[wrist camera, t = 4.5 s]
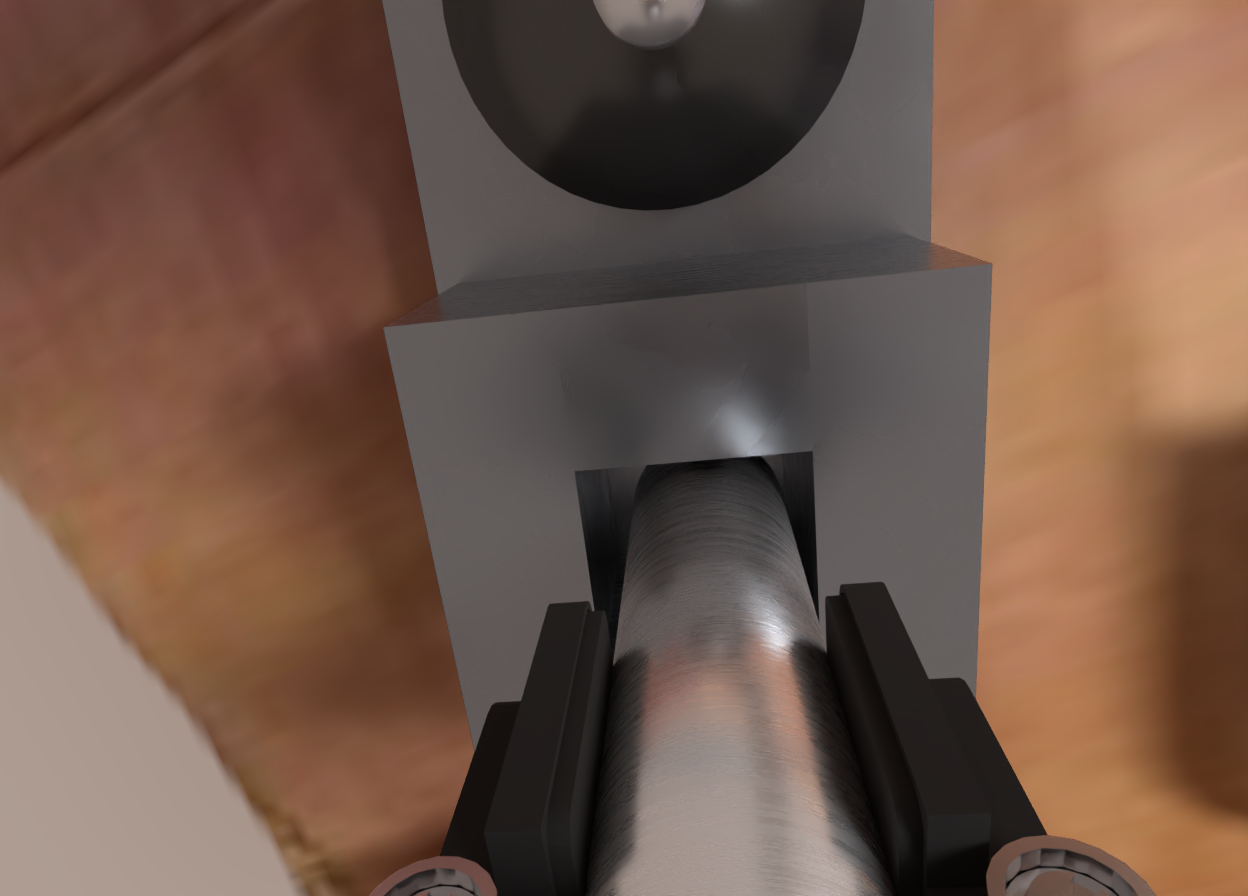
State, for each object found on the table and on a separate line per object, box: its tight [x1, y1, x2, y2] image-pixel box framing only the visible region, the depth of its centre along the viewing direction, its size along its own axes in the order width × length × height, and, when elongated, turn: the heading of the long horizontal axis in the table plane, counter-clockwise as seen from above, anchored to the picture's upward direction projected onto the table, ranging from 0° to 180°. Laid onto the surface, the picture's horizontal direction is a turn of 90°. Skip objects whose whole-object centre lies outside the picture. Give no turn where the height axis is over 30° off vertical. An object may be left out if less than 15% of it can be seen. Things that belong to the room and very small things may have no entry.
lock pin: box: [584, 455, 896, 896], centre depth 10 cm, size 3×3×13 cm
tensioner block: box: [382, 0, 992, 751], centre depth 16 cm, size 19×11×6 cm, turn 6°
